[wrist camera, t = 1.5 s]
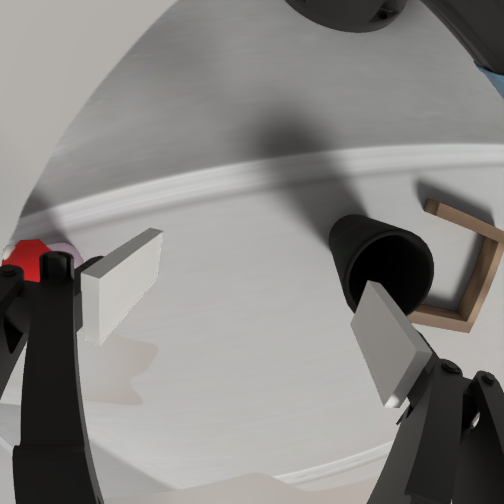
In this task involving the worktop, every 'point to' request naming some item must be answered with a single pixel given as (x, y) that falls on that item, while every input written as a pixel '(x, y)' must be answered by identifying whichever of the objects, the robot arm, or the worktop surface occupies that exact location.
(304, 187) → the worktop surface
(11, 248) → the mushroom
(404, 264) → the cup
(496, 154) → the worktop surface
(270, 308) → the worktop surface
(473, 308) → the wooden u-shaped bracket
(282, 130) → the worktop surface
